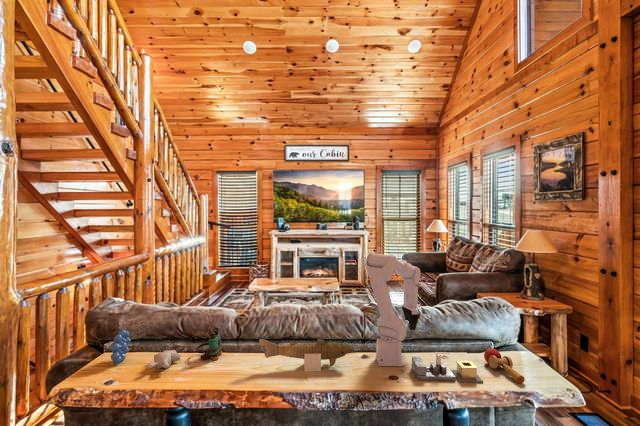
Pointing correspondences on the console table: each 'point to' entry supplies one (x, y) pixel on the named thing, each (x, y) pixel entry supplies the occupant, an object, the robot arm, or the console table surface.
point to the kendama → (502, 364)
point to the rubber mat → (466, 379)
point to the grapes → (120, 346)
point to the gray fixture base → (432, 370)
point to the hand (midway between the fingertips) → (410, 326)
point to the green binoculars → (212, 346)
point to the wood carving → (308, 352)
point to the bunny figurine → (164, 359)
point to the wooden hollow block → (466, 370)
